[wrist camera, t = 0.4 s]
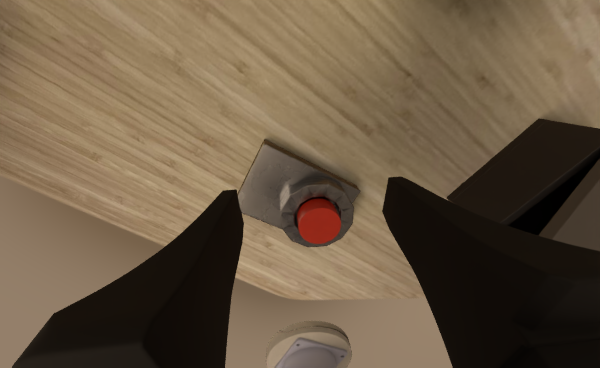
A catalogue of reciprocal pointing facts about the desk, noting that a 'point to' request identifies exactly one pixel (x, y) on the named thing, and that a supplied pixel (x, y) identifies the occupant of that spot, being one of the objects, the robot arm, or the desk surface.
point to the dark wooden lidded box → (531, 175)
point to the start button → (318, 221)
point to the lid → (579, 215)
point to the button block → (292, 191)
